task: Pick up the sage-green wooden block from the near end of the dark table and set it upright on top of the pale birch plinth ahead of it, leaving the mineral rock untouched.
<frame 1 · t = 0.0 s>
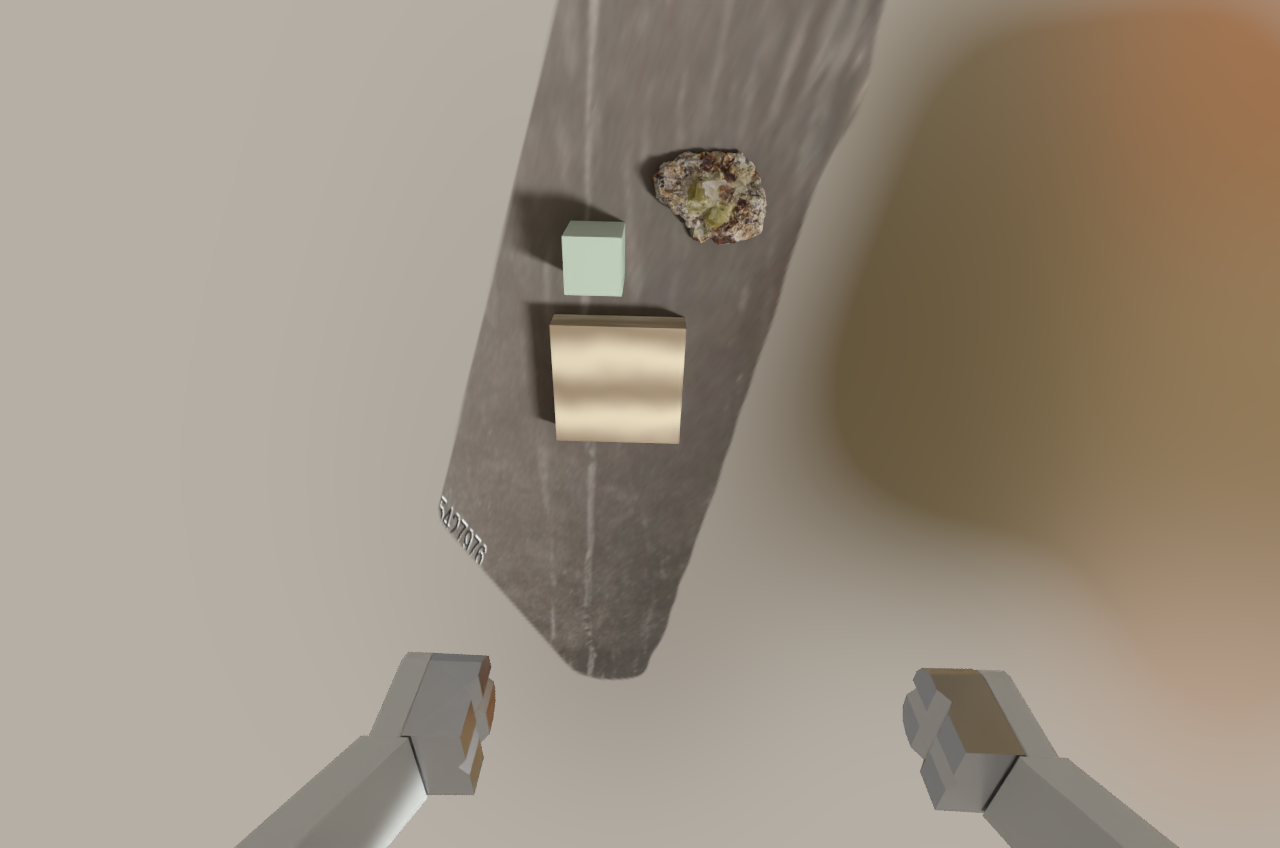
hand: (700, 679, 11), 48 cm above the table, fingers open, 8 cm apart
mineral rock: (709, 193, 52), on the table
birch plinth: (619, 374, 61), on the table
sage block: (598, 248, 55), on the table
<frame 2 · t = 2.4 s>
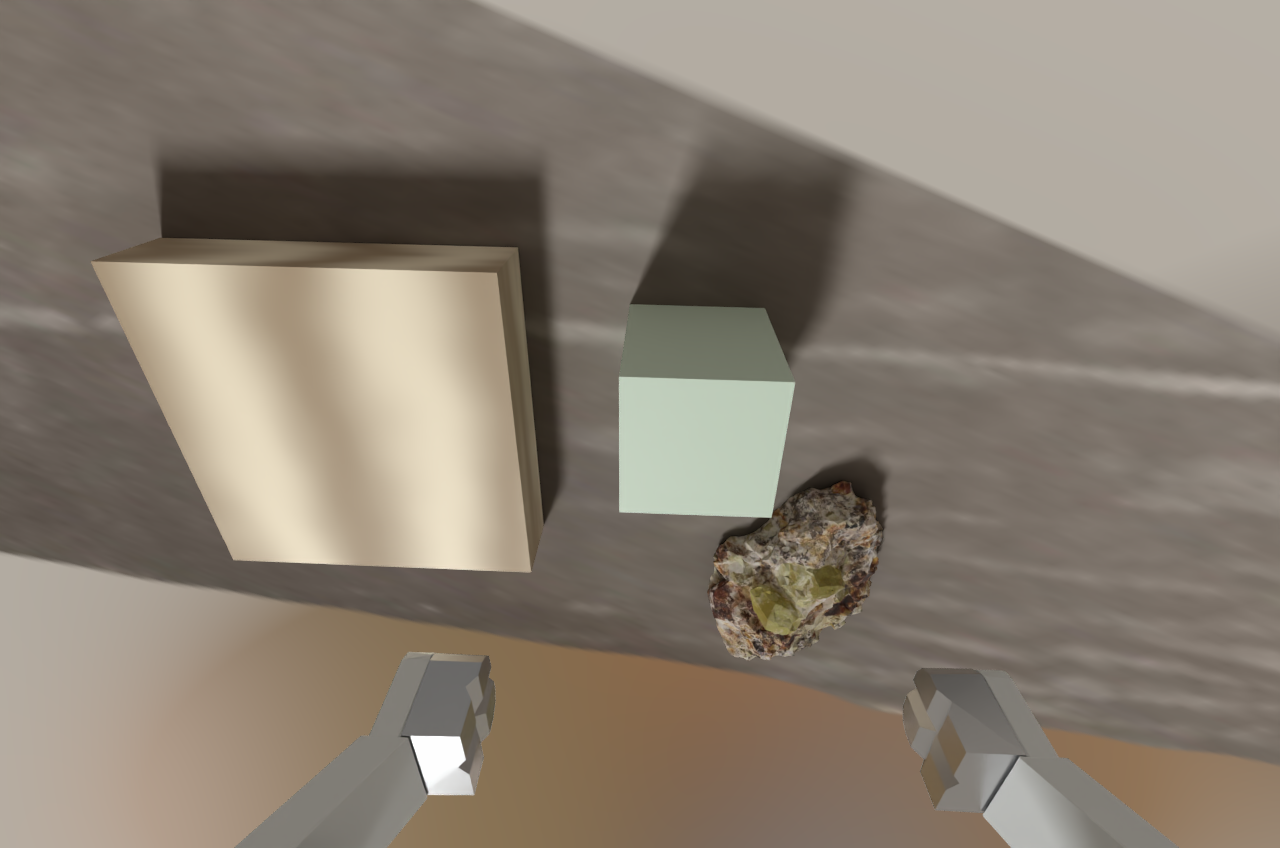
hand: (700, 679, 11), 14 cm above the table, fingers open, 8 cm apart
mineral rock: (794, 555, 29), on the table
birch plinth: (377, 400, 24), on the table
sage block: (692, 366, 23), on the table
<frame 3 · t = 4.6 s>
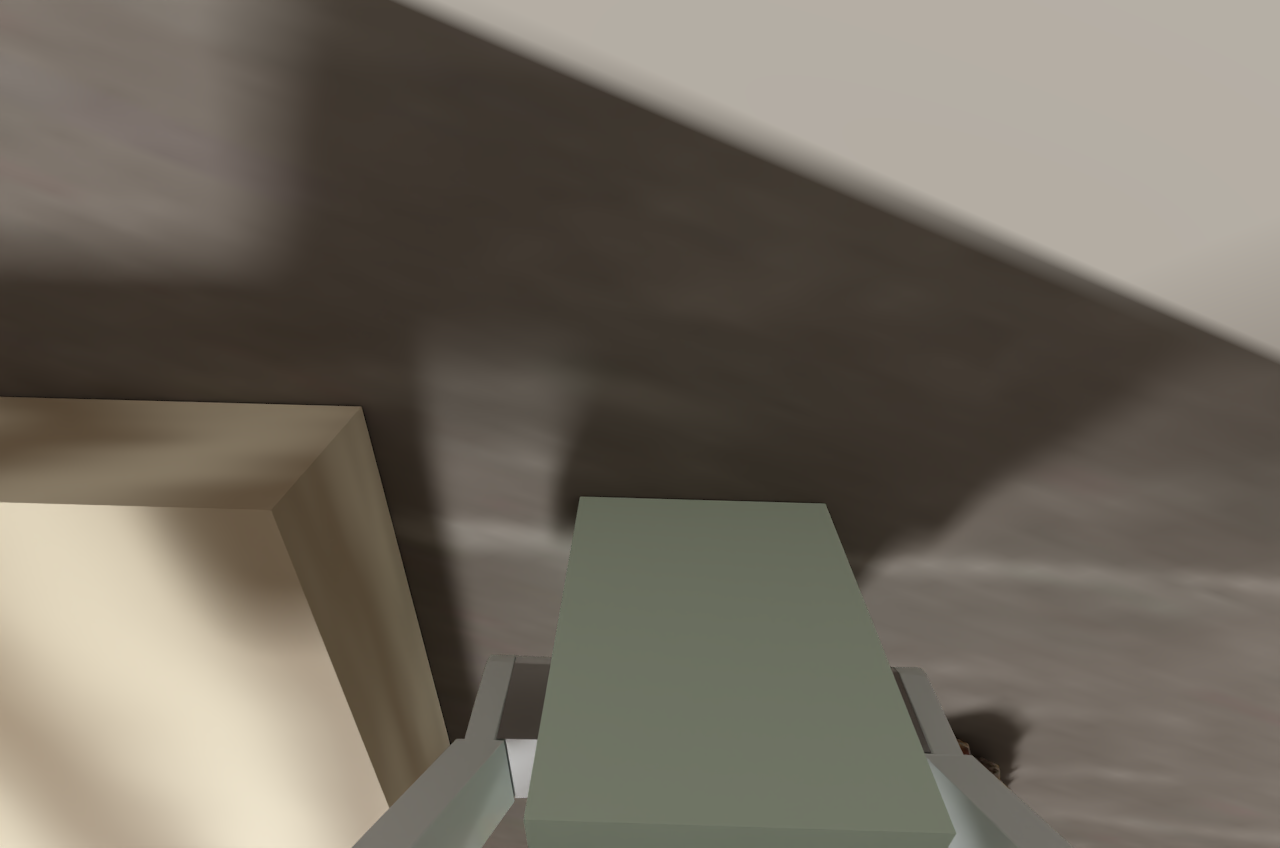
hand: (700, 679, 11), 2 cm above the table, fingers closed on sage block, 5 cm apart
mineral rock: (862, 809, 19), on the table
birch plinth: (158, 630, 14), on the table
sage block: (694, 587, 13), on the table, touching gripper
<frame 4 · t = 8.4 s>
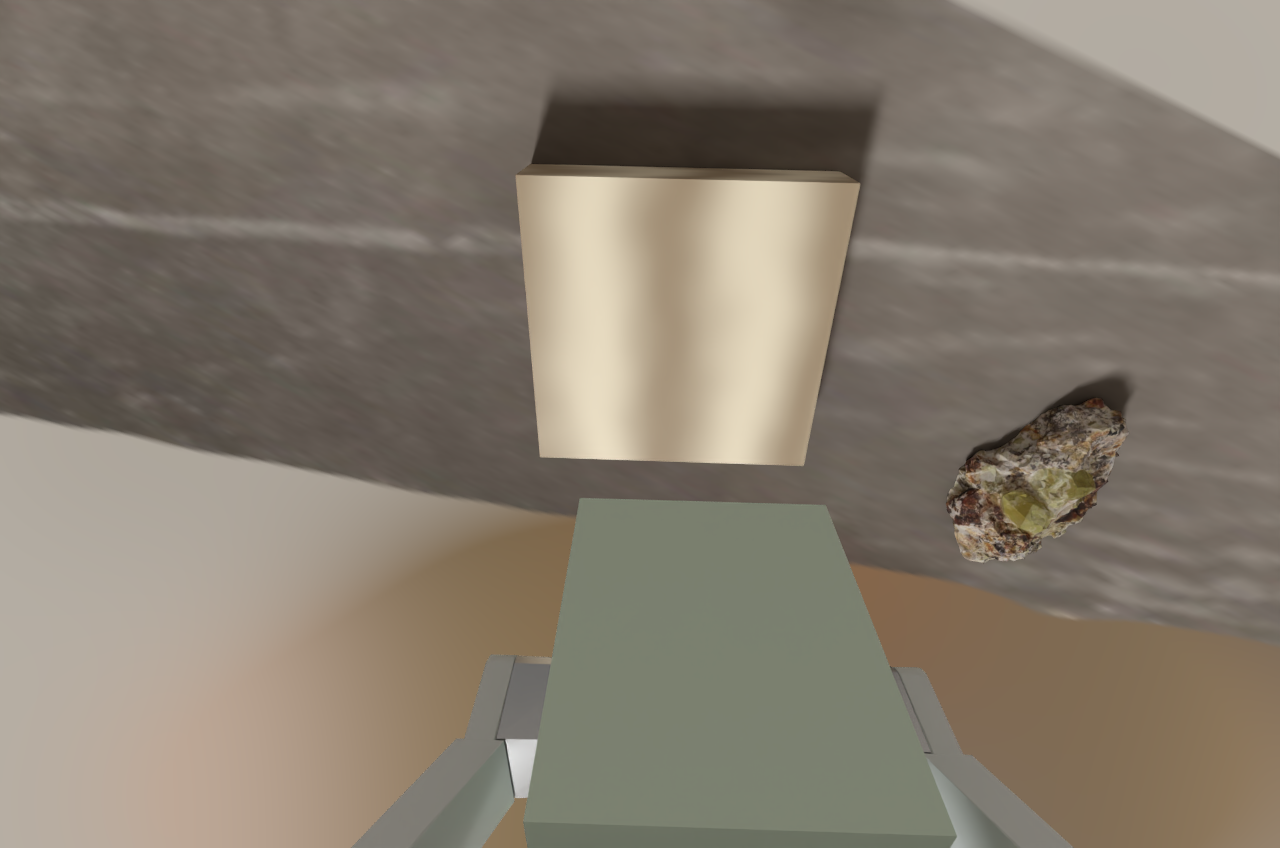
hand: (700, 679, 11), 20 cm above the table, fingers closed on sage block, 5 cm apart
mineral rock: (1025, 471, 33), on the table
birch plinth: (676, 314, 28), on the table
sage block: (694, 588, 13), point 17 cm above the table, touching gripper
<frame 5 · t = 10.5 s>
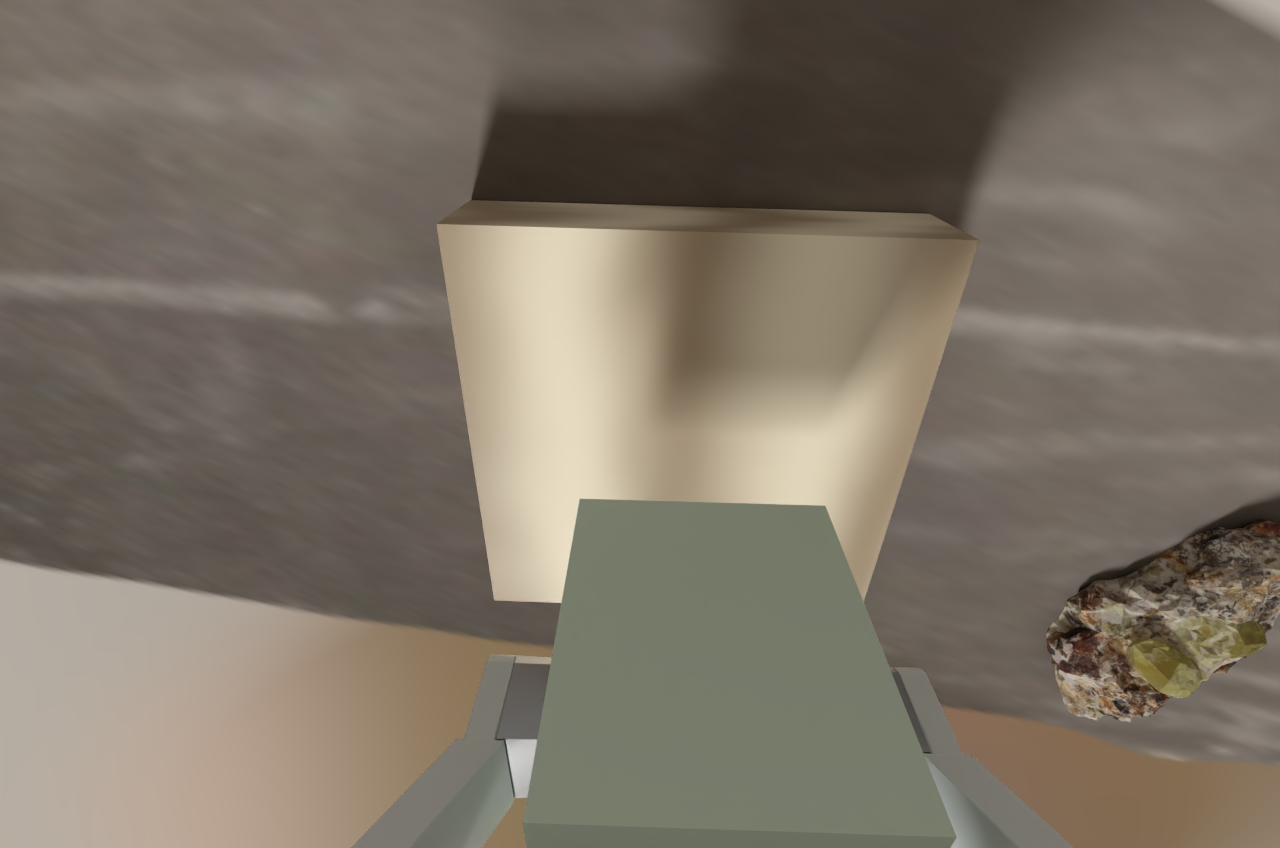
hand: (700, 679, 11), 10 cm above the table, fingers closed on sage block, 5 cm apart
mineral rock: (1151, 600, 25), on the table
birch plinth: (684, 406, 20), on the table
sage block: (694, 589, 13), point 8 cm above the table, touching gripper
when the fingers open (7 cm above the table, at t = 12.3 s): sage block drops 1 cm, resting on birch plinth.
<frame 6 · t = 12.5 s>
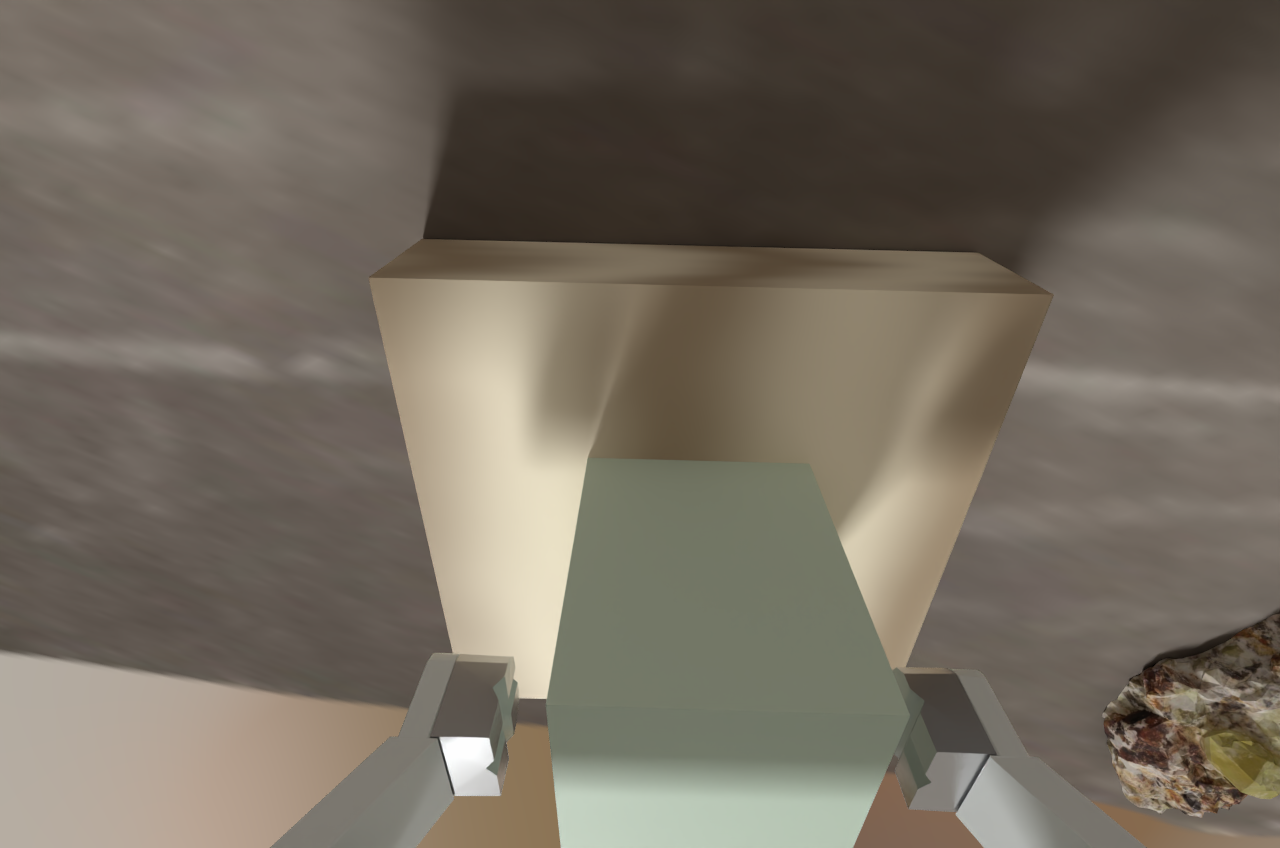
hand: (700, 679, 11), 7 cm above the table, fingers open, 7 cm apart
mineral rock: (1221, 677, 22), on the table
birch plinth: (683, 471, 17), on the table
sage block: (691, 543, 14), point 3 cm above the table, touching birch plinth
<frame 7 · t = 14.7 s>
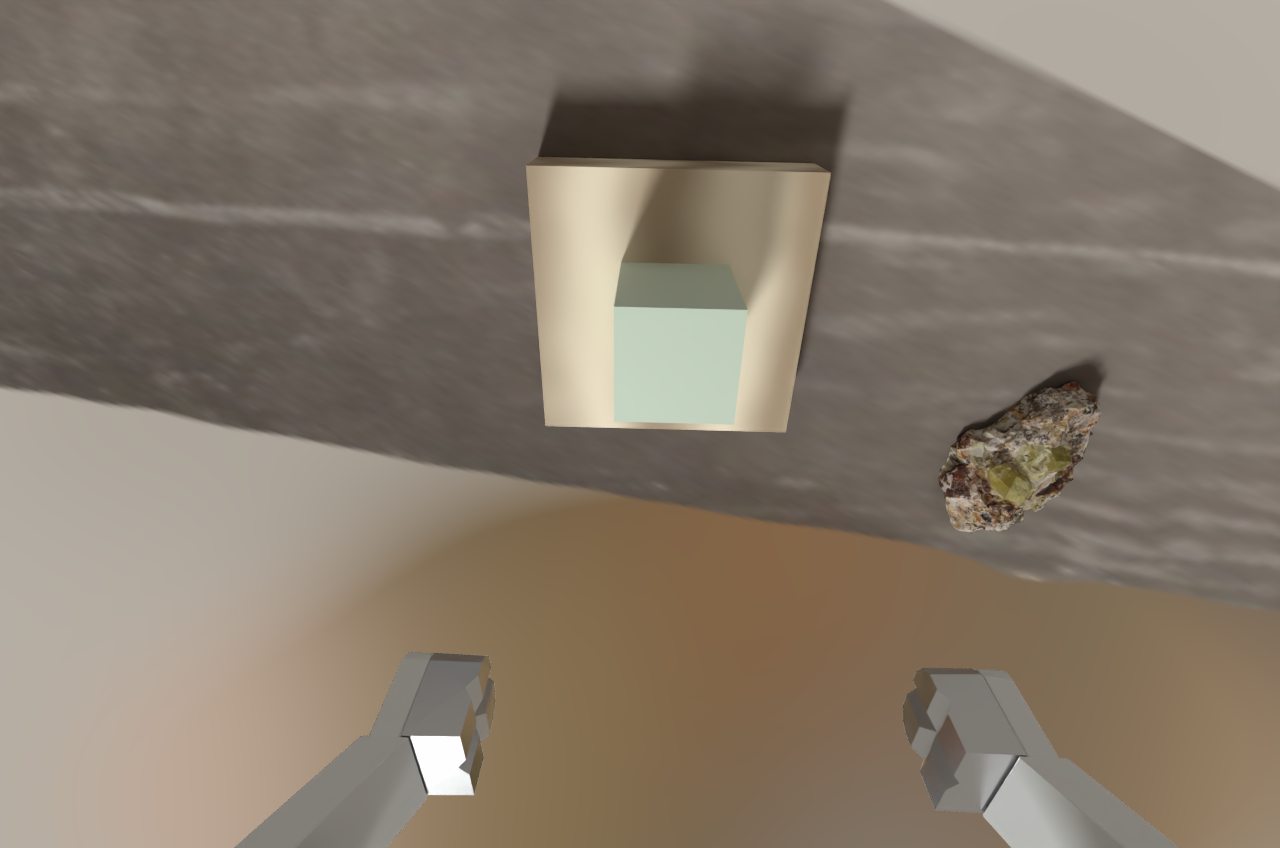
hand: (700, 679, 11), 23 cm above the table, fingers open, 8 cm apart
mineral rock: (1009, 449, 36), on the table
birch plinth: (669, 294, 31), on the table
sage block: (672, 315, 28), point 3 cm above the table, touching birch plinth
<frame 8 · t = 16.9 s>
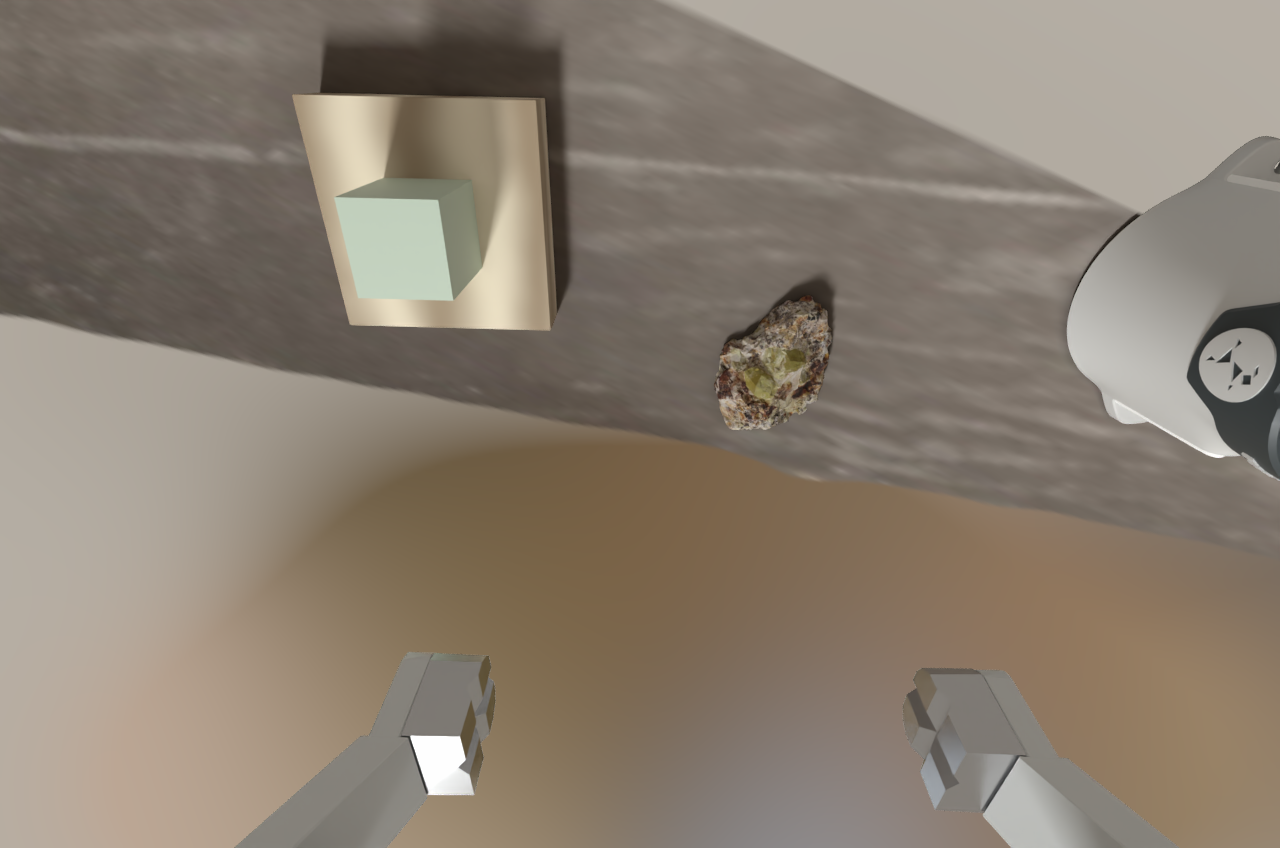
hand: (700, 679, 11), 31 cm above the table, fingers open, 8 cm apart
mineral rock: (774, 359, 42), on the table
birch plinth: (449, 213, 37), on the table
sage block: (434, 224, 34), point 3 cm above the table, touching birch plinth
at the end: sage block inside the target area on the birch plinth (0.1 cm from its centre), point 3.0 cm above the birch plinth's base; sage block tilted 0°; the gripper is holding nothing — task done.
